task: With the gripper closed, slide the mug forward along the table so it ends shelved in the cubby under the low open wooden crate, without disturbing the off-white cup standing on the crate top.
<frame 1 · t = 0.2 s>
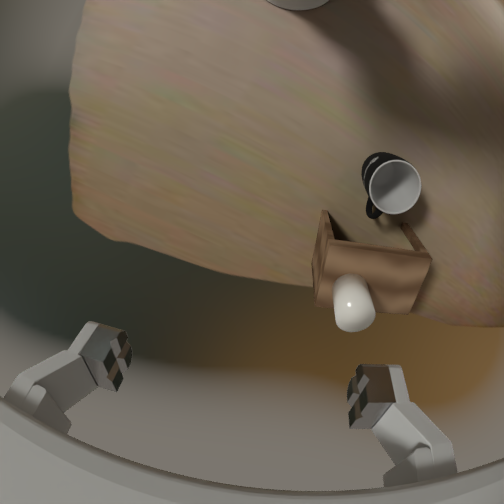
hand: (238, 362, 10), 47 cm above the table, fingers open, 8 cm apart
cup: (349, 288, 47), point 13 cm above the table, touching open wooden crate
mug: (375, 177, 51), on the table
open wooden crate: (360, 243, 58), on the table
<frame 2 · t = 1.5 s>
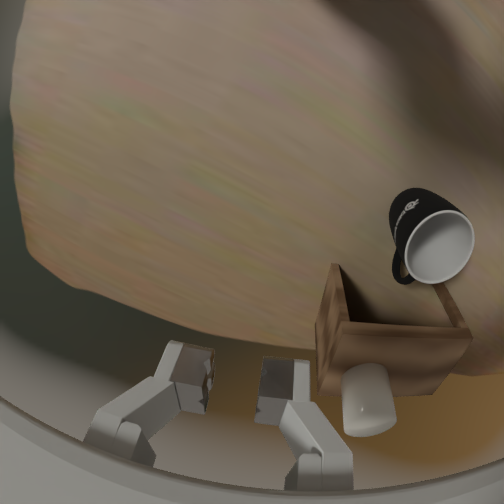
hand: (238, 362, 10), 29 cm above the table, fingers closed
cup: (364, 377, 33), point 13 cm above the table, touching open wooden crate
mug: (405, 219, 36), on the table
open wooden crate: (378, 302, 43), on the table
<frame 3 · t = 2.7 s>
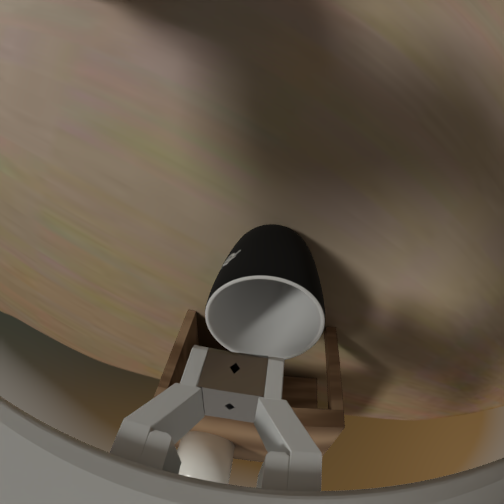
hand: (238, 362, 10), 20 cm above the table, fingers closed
cup: (208, 442, 28), point 13 cm above the table, touching open wooden crate
mug: (268, 263, 31), on the table
open wooden crate: (257, 351, 38), on the table
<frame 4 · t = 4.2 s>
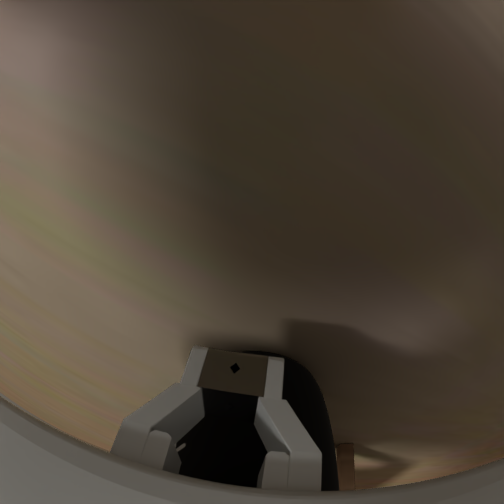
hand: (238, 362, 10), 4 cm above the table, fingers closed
mug: (252, 392, 17), on the table
open wooden crate: (247, 459, 25), on the table
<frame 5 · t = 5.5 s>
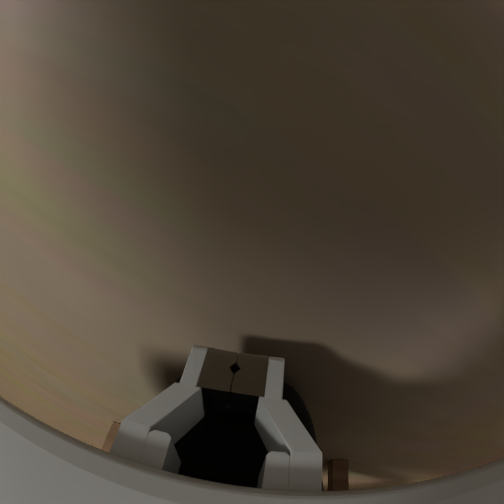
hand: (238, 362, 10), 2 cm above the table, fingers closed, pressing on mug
mug: (230, 409, 15), on the table, touching gripper
open wooden crate: (226, 471, 21), on the table
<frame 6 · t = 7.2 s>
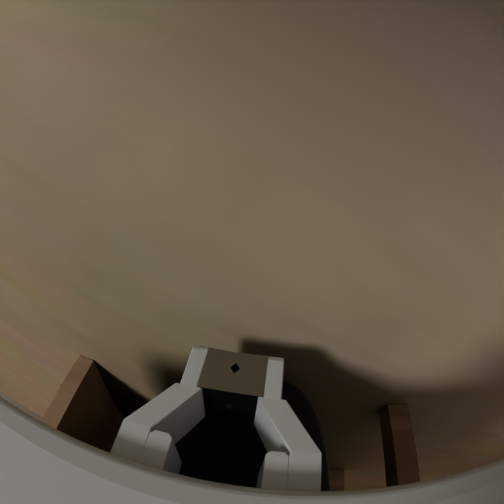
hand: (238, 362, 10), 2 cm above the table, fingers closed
mug: (237, 411, 15), on the table, touching gripper
open wooden crate: (234, 440, 17), on the table
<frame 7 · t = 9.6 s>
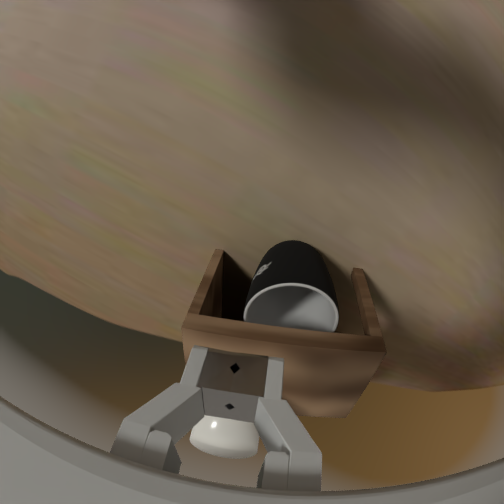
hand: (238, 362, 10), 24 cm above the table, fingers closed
cup: (235, 386, 28), point 13 cm above the table, touching open wooden crate
mug: (288, 272, 37), on the table
open wooden crate: (283, 298, 39), on the table
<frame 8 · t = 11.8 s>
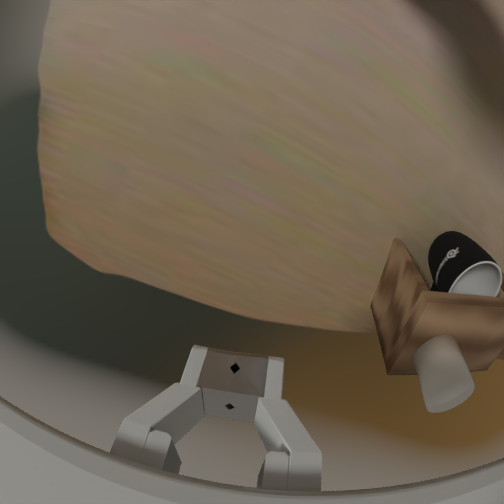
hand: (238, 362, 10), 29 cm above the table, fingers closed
cup: (435, 352, 30), point 13 cm above the table, touching open wooden crate
mug: (441, 257, 38), on the table
open wooden crate: (432, 280, 40), on the table
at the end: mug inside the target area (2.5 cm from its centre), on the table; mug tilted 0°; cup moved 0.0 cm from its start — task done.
